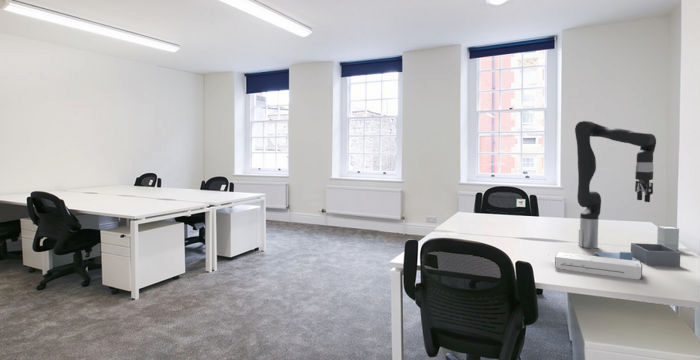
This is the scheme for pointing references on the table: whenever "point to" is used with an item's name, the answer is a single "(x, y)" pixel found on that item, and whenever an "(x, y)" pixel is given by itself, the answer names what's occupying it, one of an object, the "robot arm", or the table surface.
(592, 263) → the laminator
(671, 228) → the supplement box
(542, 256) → the table surface
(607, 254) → the tub lid
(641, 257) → the parts tub
